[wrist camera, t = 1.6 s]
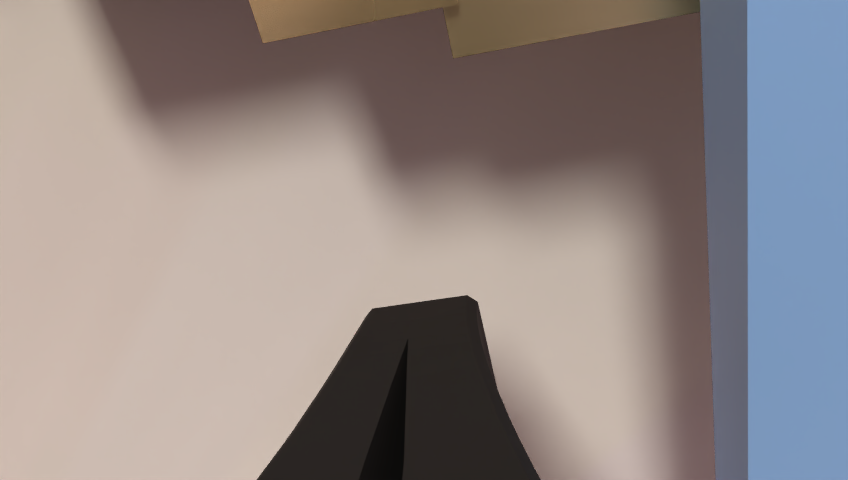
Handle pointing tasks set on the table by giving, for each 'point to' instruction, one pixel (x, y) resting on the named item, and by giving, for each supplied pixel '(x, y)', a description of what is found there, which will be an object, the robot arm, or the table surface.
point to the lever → (777, 235)
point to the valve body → (468, 18)
